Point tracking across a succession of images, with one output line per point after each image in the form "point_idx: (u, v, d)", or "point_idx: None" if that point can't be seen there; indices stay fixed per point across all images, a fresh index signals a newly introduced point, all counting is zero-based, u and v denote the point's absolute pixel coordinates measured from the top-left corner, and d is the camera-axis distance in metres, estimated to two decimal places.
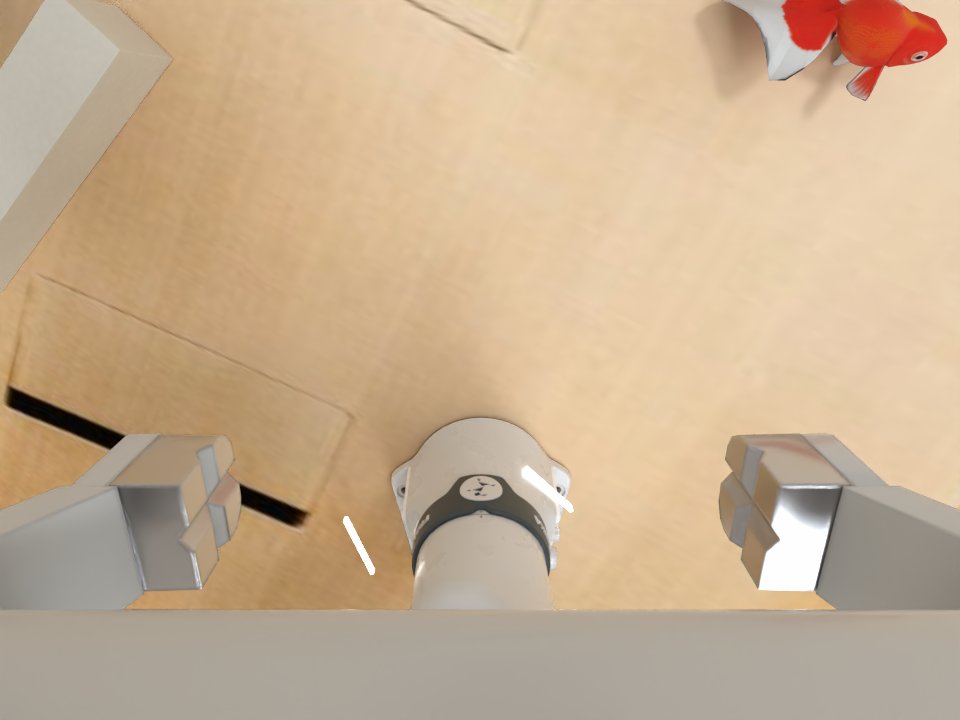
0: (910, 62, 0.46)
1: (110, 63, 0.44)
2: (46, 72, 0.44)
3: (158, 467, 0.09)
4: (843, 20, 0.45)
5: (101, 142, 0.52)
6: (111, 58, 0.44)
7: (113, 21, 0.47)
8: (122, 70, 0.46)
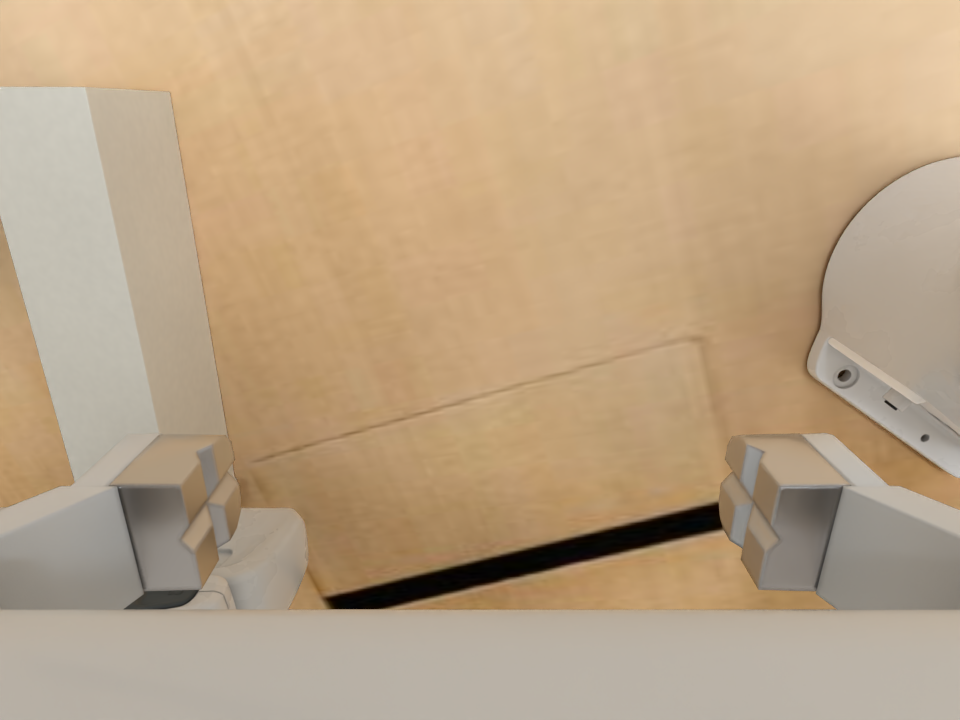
0: None
1: (90, 116, 0.28)
2: (47, 200, 0.29)
3: (158, 467, 0.09)
4: None
5: (184, 257, 0.37)
6: (85, 109, 0.28)
7: None
8: (118, 126, 0.30)
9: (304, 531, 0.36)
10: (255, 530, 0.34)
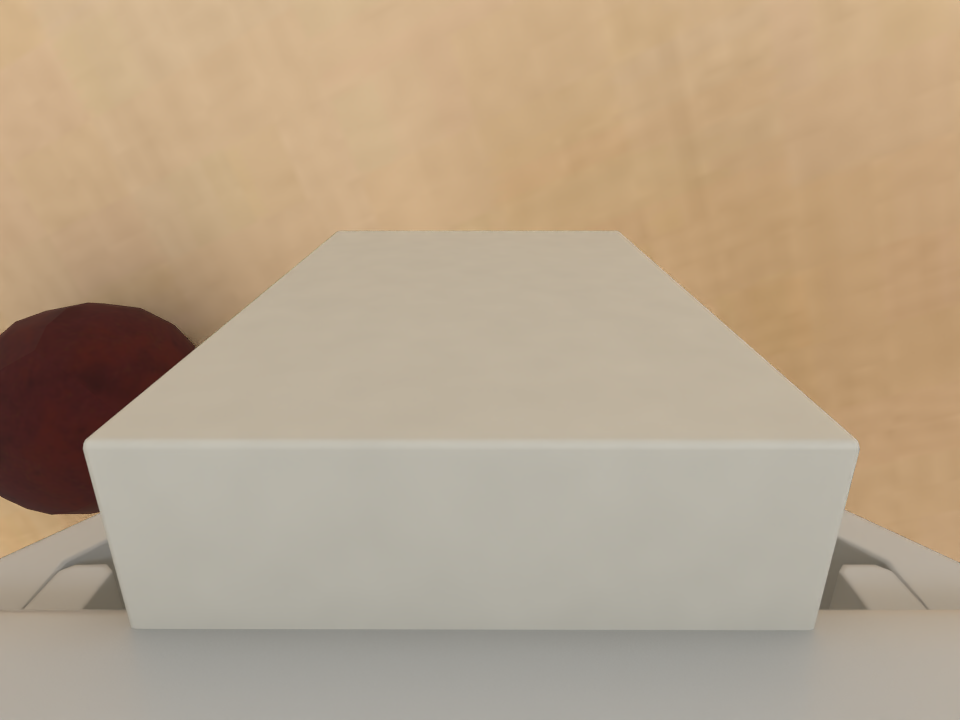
0: None
1: (823, 583, 0.05)
2: None
3: None
4: None
5: None
6: (813, 552, 0.05)
7: (437, 284, 0.08)
8: None
9: None
10: None
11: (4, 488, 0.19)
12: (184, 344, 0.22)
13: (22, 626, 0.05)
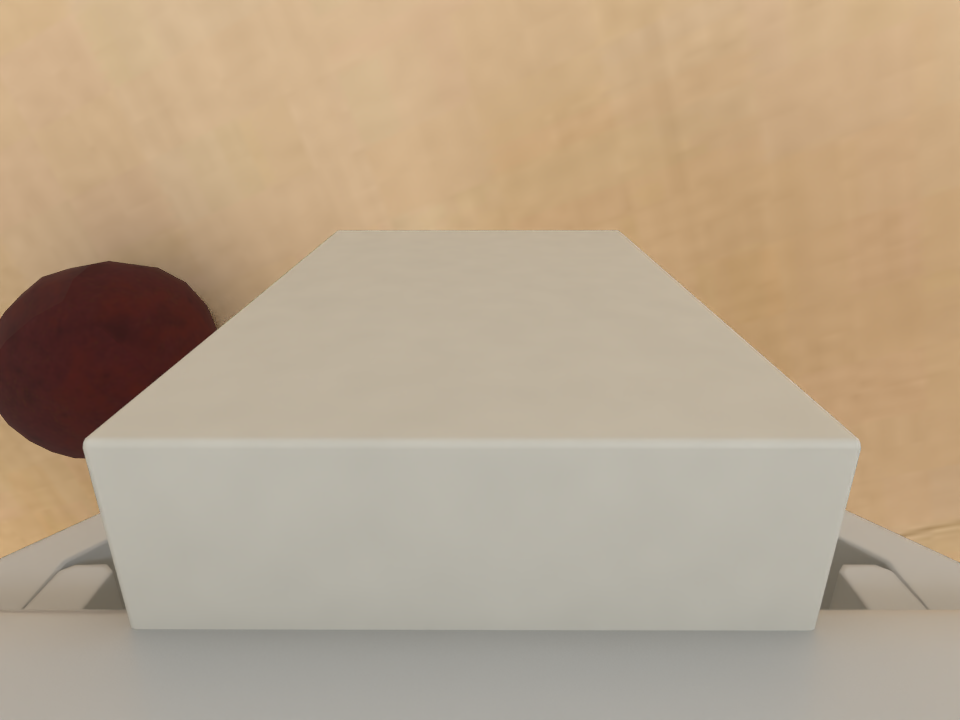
0: None
1: (824, 580, 0.05)
2: None
3: None
4: None
5: None
6: (814, 551, 0.05)
7: (437, 283, 0.08)
8: None
9: None
10: None
11: (33, 430, 0.21)
12: (198, 302, 0.23)
13: (22, 626, 0.05)
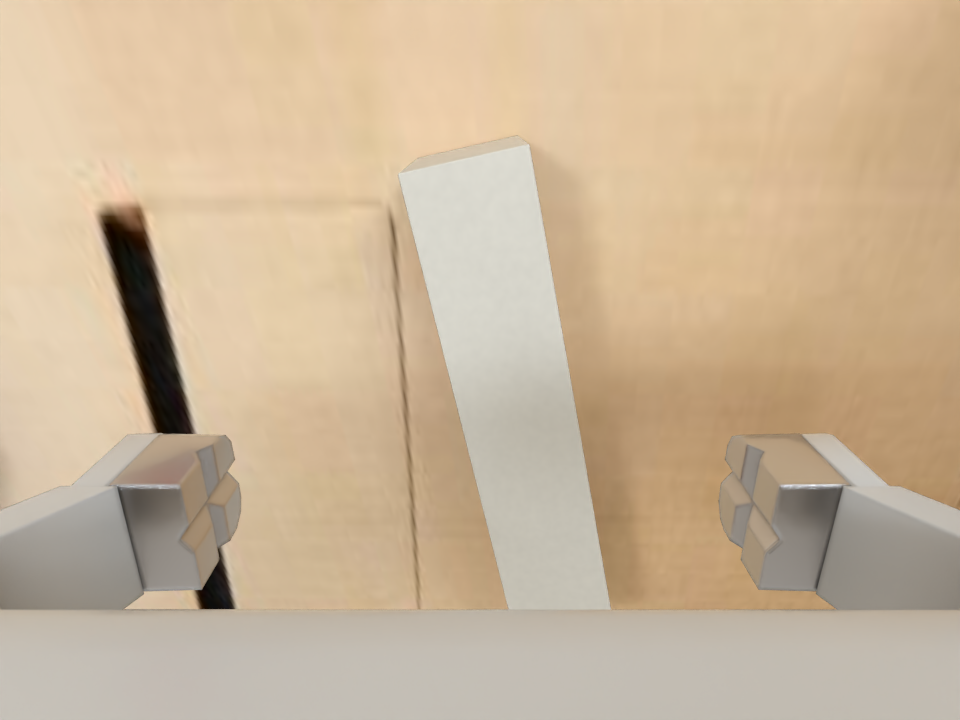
0: None
1: (533, 175, 0.25)
2: (483, 278, 0.27)
3: (158, 467, 0.09)
4: None
5: None
6: (529, 168, 0.25)
7: (454, 154, 0.29)
8: None
9: None
10: None
11: None
12: None
13: (22, 626, 0.05)
